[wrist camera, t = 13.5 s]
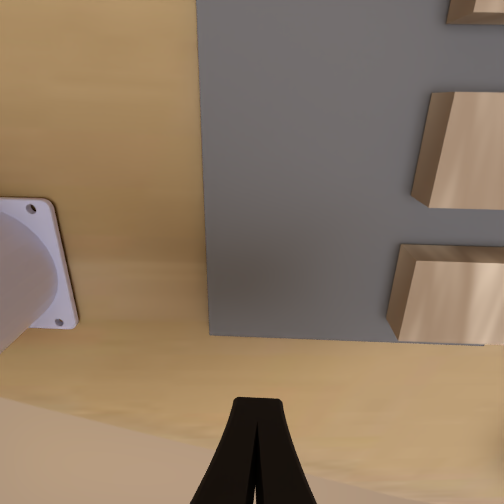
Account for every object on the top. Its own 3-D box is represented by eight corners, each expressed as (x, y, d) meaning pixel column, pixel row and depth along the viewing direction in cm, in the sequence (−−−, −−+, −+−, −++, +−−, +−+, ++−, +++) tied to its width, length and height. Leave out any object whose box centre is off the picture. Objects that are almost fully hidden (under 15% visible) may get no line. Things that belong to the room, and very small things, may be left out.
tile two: (428, 207, 15) (576, 211, 15) (455, 91, 13) (624, 94, 13) (409, 195, 17) (540, 198, 17) (430, 93, 15) (576, 95, 15)
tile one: (398, 340, 18) (521, 345, 17) (416, 260, 16) (554, 265, 16) (385, 316, 20) (496, 320, 19) (399, 243, 18) (522, 246, 18)
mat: (211, 329, 21) (209, 335, 21) (192, -182, 12) (188, -196, 12) (478, 339, 21) (484, 345, 20) (657, -186, 12) (676, -200, 11)
